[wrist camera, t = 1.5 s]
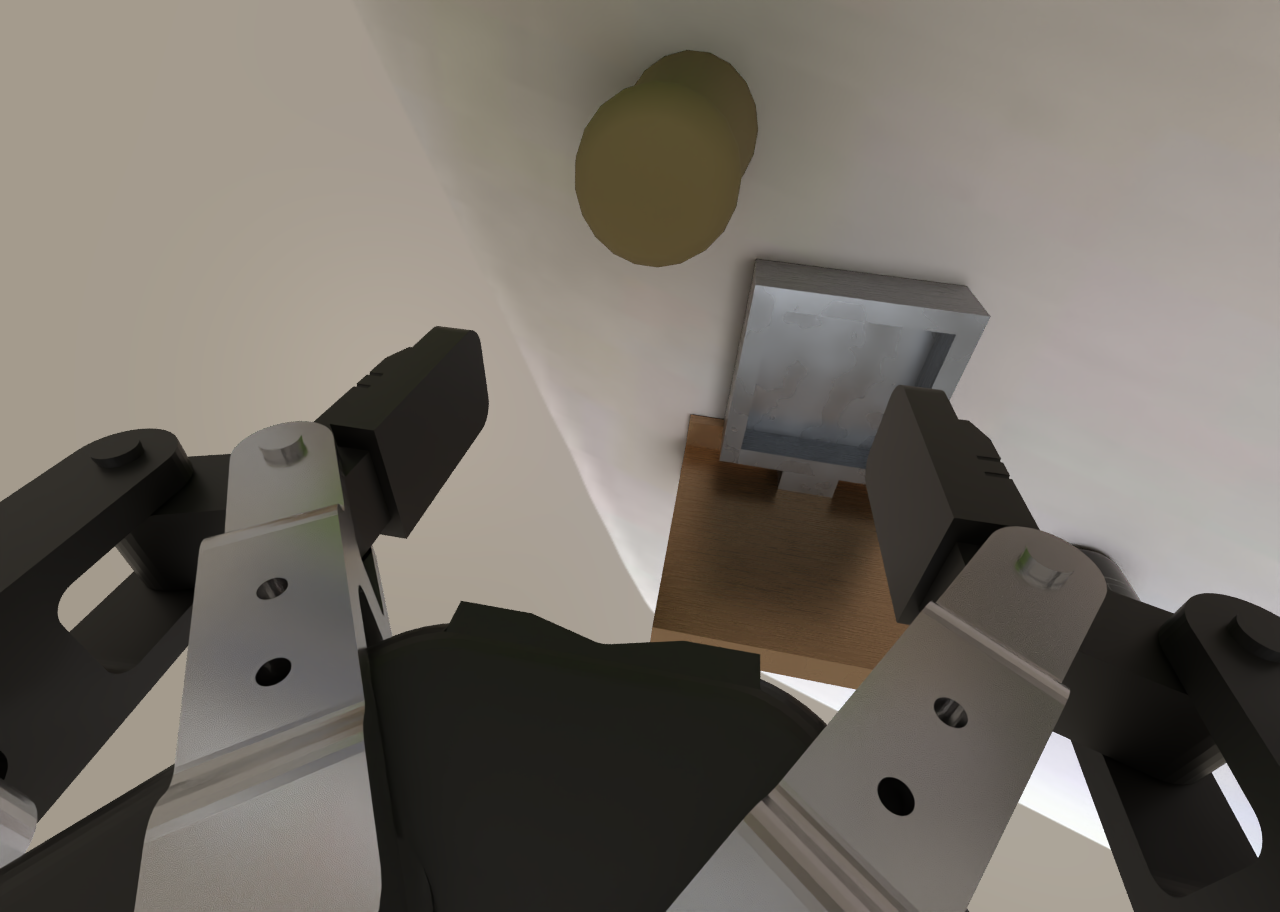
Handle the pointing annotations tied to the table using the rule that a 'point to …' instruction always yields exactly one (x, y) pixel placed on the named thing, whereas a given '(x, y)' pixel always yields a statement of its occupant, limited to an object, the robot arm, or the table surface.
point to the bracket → (804, 470)
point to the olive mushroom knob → (667, 159)
